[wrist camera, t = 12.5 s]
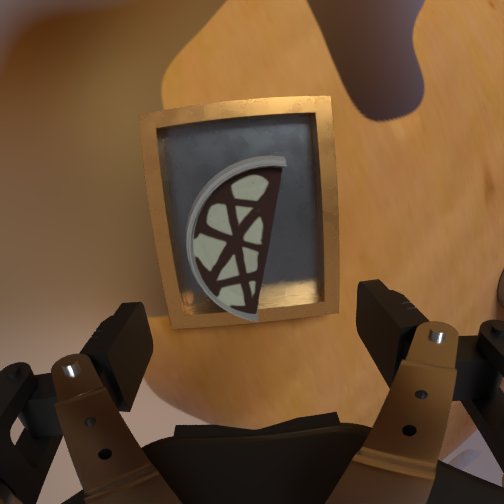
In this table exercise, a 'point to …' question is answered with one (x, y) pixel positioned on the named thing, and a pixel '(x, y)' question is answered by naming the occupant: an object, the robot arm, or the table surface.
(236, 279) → the food container
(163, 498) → the robot arm
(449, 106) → the table surface
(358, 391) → the table surface
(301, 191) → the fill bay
